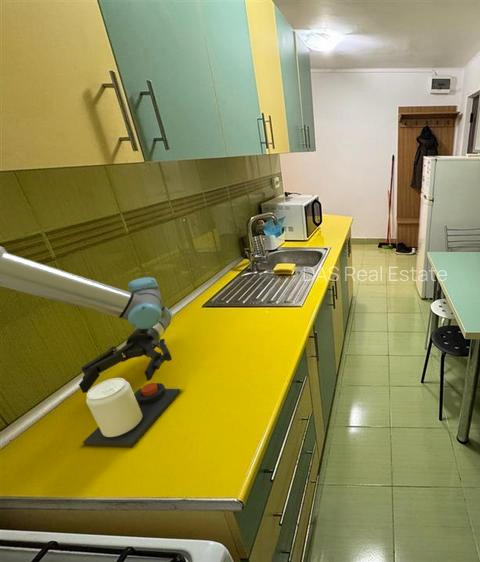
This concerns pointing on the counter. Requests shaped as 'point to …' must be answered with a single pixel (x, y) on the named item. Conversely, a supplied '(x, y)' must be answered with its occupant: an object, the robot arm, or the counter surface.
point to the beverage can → (114, 407)
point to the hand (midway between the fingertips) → (115, 382)
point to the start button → (149, 389)
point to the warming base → (150, 412)
